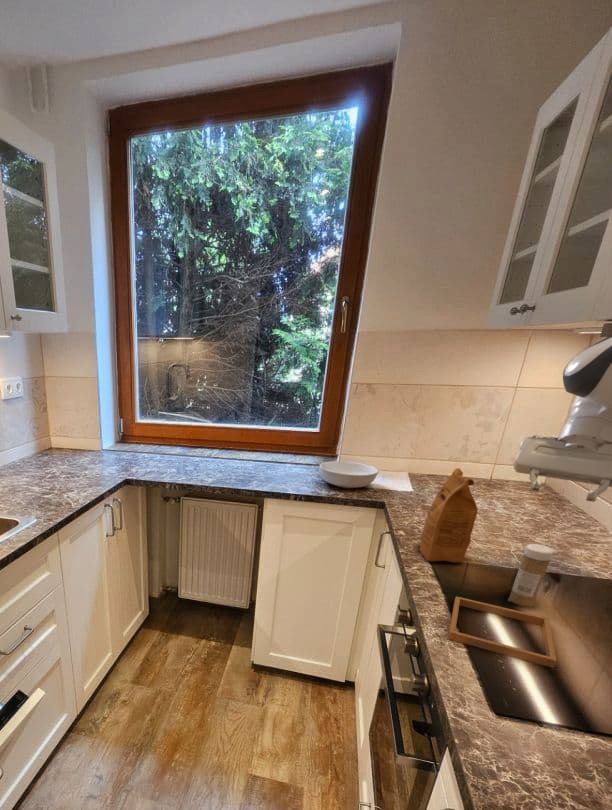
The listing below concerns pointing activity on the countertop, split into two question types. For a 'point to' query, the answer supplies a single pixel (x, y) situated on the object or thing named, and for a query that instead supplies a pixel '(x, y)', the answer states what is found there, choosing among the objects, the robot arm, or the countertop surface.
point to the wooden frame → (501, 648)
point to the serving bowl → (347, 474)
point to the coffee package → (450, 521)
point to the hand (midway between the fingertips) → (561, 494)
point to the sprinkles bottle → (531, 574)
